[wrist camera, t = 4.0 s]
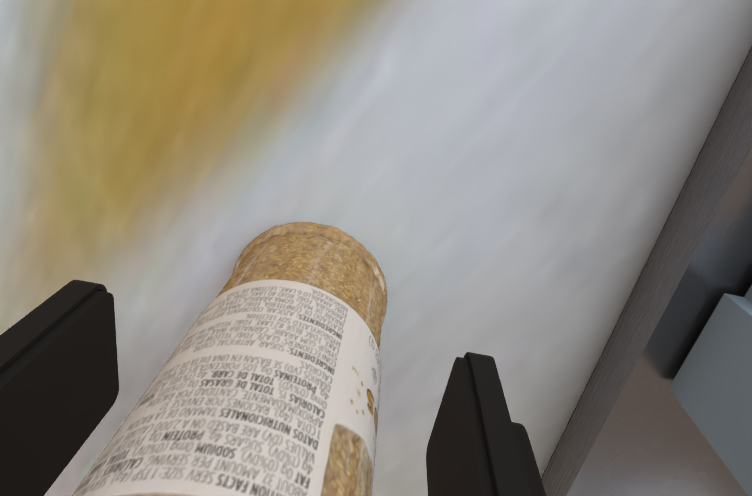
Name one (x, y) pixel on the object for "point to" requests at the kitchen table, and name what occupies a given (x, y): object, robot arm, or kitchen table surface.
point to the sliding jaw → (723, 385)
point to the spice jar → (265, 382)
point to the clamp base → (668, 336)
